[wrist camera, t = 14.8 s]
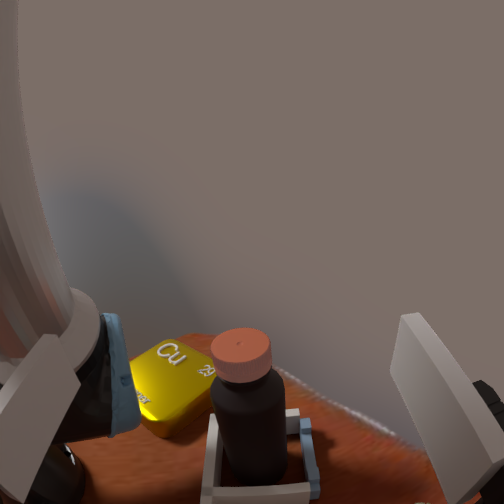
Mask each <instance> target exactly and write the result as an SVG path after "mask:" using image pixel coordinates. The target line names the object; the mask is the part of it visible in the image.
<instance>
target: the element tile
mask: <svg viewBox="0 0 504 504" xmlns="http://www.w3.org/2000/svg"><path fill="white" fill-rule="evenodd" d="M129 363H130V367H131V372H132V376H133V380H134V385H135V389H136V393H137V397H138V401H139V405H140V409H141V413H142V420H141V423H142V424H143V425H144V426H145V427H146V428H147V429H148V430H150V431H151V432H152V433H153V434H154V435H156V436H157V437H160V438H169V437H172V436H174V435H176V434H177V433H178V432H180V431H181V430H182V429H184V428H185V427H186V426H187V425H189V424H190V423H191V422H192V421H194V420H195V419H196V418H197V417H199V416H200V415H201V414H202V413H204V412H205V411H206V410H207V409H208V408H210V407H211V406H212V402H211V398H210V386H211V384H212V382H213V380H214V378H215V377H216V376H217V374H216V371H215V369H214V365H213V360H212V358H210V357H208V356H206V355H204V354H202V353H200V352H198V351H196V350H194V349H192V348H190V347H188V346H187V345H185V344H183V343H181V342H179V341H177V340H173V339H168V340H165V341H163V342H161V343H159V344H158V345H156V346H154V347H153V348H151V349H150V350H148V351H146V352H145V353H143V354H141V355H140V356H138V357H136V358H135V359H133V360H132V361H130V362H129Z"/></svg>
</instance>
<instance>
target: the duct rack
mask: <svg viewBox="0 0 504 504" xmlns="http://www.w3.org/2000/svg"><path fill="white" fill-rule="evenodd" d="M286 433H287V434H296V433H299V435H300V442H301V449H302V456H303V464H304V471H305V479H306V482H304V483H295V484H285V485H273V486H255V487H220V483H221V468H222V454H223V441H222V438H221V434H220V431H219V427H218V424H217V420H216V417H215V414H210V420H209V428H208V437H207V445H206V453H205V462H204V471H203V479H202V488H201V497H200V504H309V500H311V499H318V498H319V495H320V484H319V482H320V475H319V469H318V467H317V466H316V460H315V454H314V448H313V442H312V436H311V423H310V418H302V419H300V414H299V408H298V409H288V410H286Z"/></svg>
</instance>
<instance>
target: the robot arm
mask: <svg viewBox="0 0 504 504" xmlns="http://www.w3.org/2000/svg"><path fill="white" fill-rule="evenodd" d="M17 20H18V0H0V504H79V502H80V500H81V498H82V495H83V492H84V487H85V474H84V470H83V467H82V464H81V462H80V461H79V459H78V458H77V456H76V455H75V454H74V453H73V451H72V450H71V449H70V448H69V447H68V446H67V445H66V444H65V443H71V442H78V441H84V440H90V439H96V438H101V437H106V436H107V437H108V438H112V437H114V436H115V435H116V434H120V433H124V432H127V431H131V430H134V429H135V428H137V427H138V426H139V425H140V423H141V420H142V413H141V409H140V405H139V401H138V397H137V393H136V389H135V385H134V380H133V376H132V372H131V367H130V363H129V358H128V354H127V349H126V345H125V339H124V334H123V329H122V324H121V320H120V317H119V316H118V315H116V314H108V313H103V314H102V315H101V316H100V314H99V312H98V310H97V307H96V306H95V304H94V302H93V301H92V300H91V298H90V297H89V296H87V295H86V294H85V293H83V292H81V291H80V290H77V289H74V288H70V287H69V285H68V282H67V280H66V277H65V275H64V272H63V269H62V267H61V264H60V261H59V258H58V255H57V253H56V250H55V247H54V244H53V241H52V238H51V235H50V232H49V228H48V225H47V222H46V218H45V215H44V212H43V208H42V204H41V201H40V197H39V193H38V189H37V186H36V181H35V177H34V173H33V168H32V163H31V159H30V153H29V149H28V143H27V137H26V131H25V125H24V118H23V111H22V103H21V94H20V84H19V70H18V51H17V50H18V46H17ZM390 374H391V376H392V378H393V380H394V382H395V384H396V386H397V388H398V390H399V392H400V394H401V396H402V398H403V401H404V402H405V405H406V407H407V409H408V411H409V413H410V415H411V418H412V420H413V422H414V424H415V426H416V429H417V431H418V433H419V435H420V438H421V440H422V442H423V444H424V447H425V449H426V451H427V454H428V456H429V458H430V461H431V463H432V466H433V468H434V470H435V473H436V475H437V478H438V480H439V483H440V485H441V488H442V490H443V493H444V495H445V498H446V501H447V503H448V504H463V503H465V502H467V501H469V500H471V499H472V498H473V497H474V496H475V495H476V494H477V493H478V492H480V494H481V496H482V497H481V498H480V499H479V500H478V501H477V502H476V503H475V504H504V404H503V402H501V401H500V400H501V399H500V398H499V397H498V395H497V394H496V392H495V391H494V389H493V388H491V387H490V386H489V385H487V384H486V383H485V382H483V381H482V380H479V381H477V382H474V383H471V381H470V380H469V379H468V377H467V376H466V374H465V373H464V371H463V370H462V369H461V367H460V366H459V364H458V363H457V362H456V360H455V359H454V357H453V356H452V355H451V353H450V352H449V351H448V349H447V348H446V347H445V345H444V344H443V343H442V341H441V340H440V339H439V337H438V336H437V335H436V333H435V332H434V331H433V330H432V328H431V327H430V326H429V324H428V323H427V322H426V321H425V319H424V318H423V317H422V316H421V314H420V313H419V312H418V313H413V314H406V315H401V319H400V324H399V329H398V335H397V340H396V345H395V349H394V354H393V358H392V363H391V367H390Z"/></svg>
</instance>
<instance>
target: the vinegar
mask: <svg viewBox="0 0 504 504" xmlns="http://www.w3.org/2000/svg"><path fill="white" fill-rule="evenodd" d="M270 343H271V342H270V339H269V338H268V336H267V335H266V334H265V333H263V332H261V331H259V330H257V329H253V328H236V329H232V330H228V331H225V332H224V333H222V334H220V335H219V336H217V337H216V338H215V339H214V340H213V342H212V343H211V346H210V347H211V348H210V351H211V355H212V360H213V365H214V369H215V371H216V374H217V376H216V377H215V378H214V380H213V382H212V384H211V386H210V398H211V402H212V406H213V410H214V413H215V417H216V420H217V424H218V427H219V431H220V434H221V438H222V441H223V444H224V448H225V451H226V454H227V457H228V461H229V464H230V467H231V470H232V472H233V474H234V476H235V478H236V479H237V480H238V481H239V482H241V483H242V484H244V485H247V486H249V487H255V486H270V485H272V484H275V483H276V482H277V481H279V480H280V479H281V478H282V477H283V475H284V474H285V472H286V469H287V465H288V463H287V433H286V407H285V388H284V383H283V379H282V378H281V376H280V375H279V374H278V373H277V371H275V370H273V369H272V355H271V344H270Z"/></svg>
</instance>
